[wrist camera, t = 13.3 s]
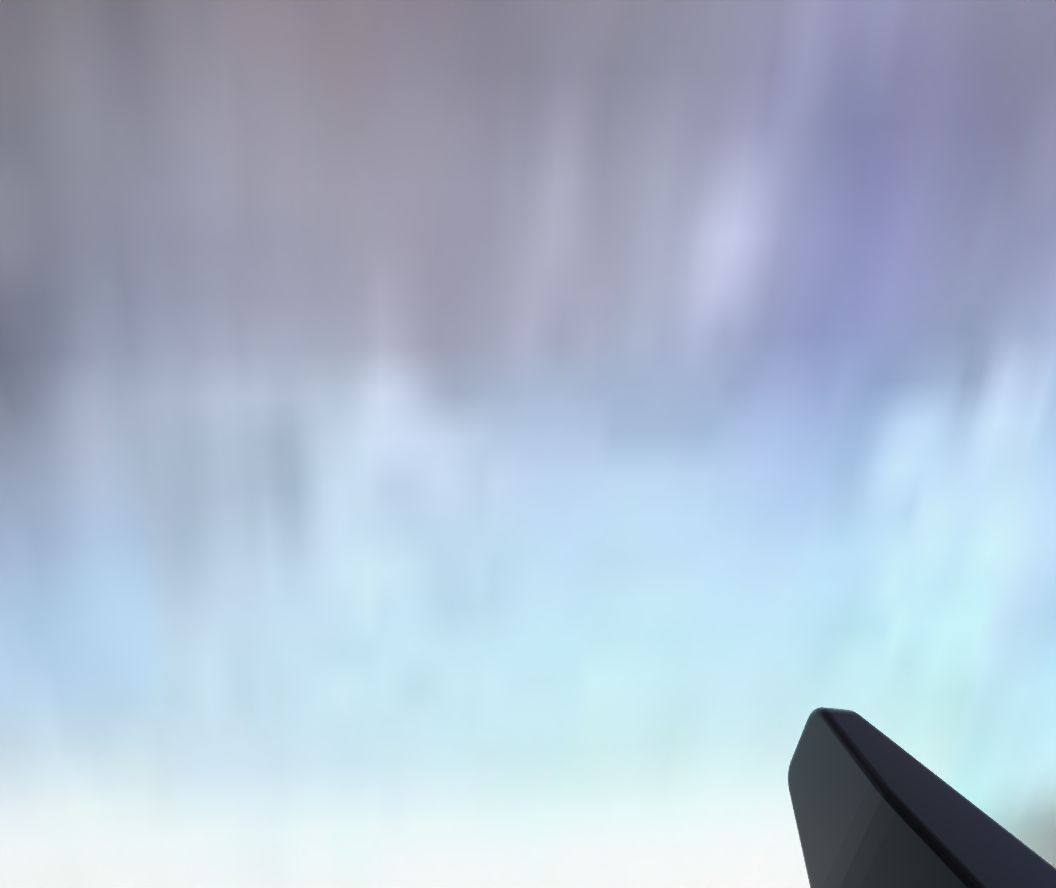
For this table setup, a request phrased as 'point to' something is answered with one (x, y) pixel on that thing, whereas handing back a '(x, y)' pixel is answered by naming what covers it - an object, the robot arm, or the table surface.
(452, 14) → the table surface
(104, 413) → the table surface
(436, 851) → the table surface
